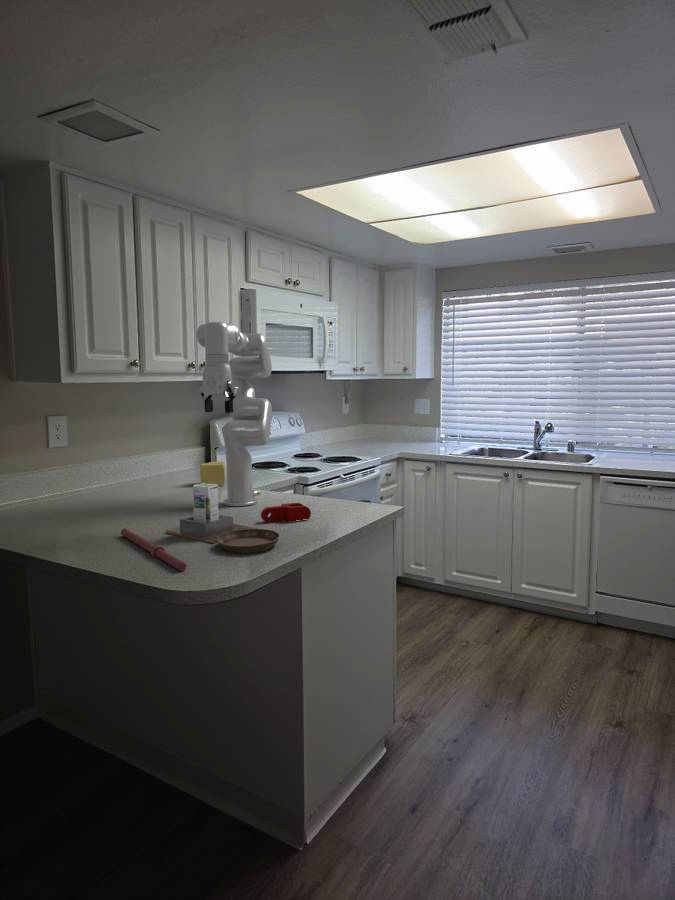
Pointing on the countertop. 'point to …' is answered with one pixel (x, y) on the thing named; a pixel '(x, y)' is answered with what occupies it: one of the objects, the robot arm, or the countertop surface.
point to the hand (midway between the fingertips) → (219, 412)
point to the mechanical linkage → (286, 513)
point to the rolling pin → (154, 550)
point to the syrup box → (205, 502)
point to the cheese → (213, 473)
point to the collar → (206, 528)
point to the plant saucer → (248, 540)
